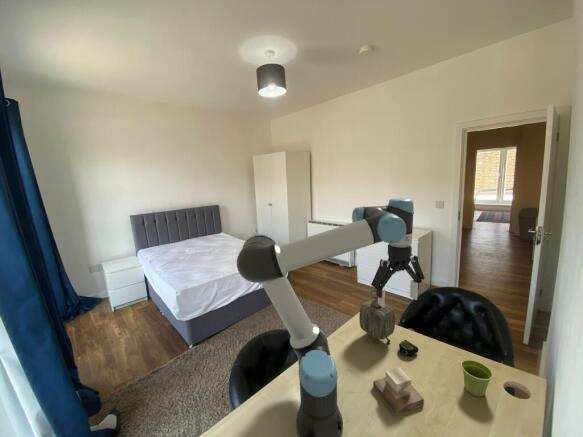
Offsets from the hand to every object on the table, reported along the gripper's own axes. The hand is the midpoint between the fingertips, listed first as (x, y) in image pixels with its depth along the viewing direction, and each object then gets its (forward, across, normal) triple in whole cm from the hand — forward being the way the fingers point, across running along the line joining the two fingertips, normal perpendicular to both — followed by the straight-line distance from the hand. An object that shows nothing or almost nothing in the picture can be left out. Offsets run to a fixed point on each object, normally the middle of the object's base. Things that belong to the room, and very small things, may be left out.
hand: (397, 301), depth 89 cm
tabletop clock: (+35, +9, +25) cm, 44 cm away
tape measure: (+35, +18, +13) cm, 41 cm away
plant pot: (+35, +26, -11) cm, 45 cm away
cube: (+32, -2, -4) cm, 33 cm away
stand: (+35, -2, -4) cm, 35 cm away
